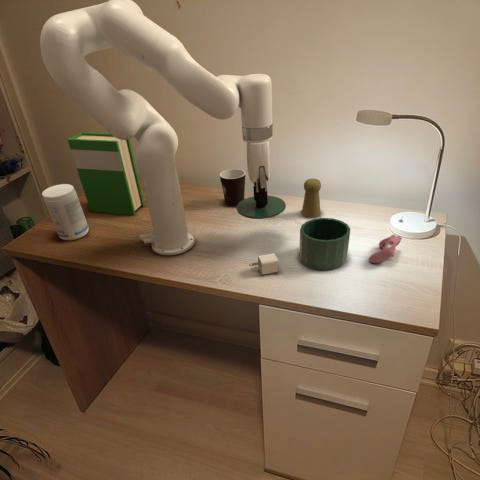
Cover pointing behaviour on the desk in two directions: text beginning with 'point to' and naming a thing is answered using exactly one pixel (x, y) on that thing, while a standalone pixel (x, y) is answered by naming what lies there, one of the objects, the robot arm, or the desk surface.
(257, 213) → the tin lid
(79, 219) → the supplement tub
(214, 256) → the desk surface
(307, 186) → the olive pawn figure
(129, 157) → the hardback book
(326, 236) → the tin
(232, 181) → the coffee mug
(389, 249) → the pink toy animal
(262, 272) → the usb wall charger
